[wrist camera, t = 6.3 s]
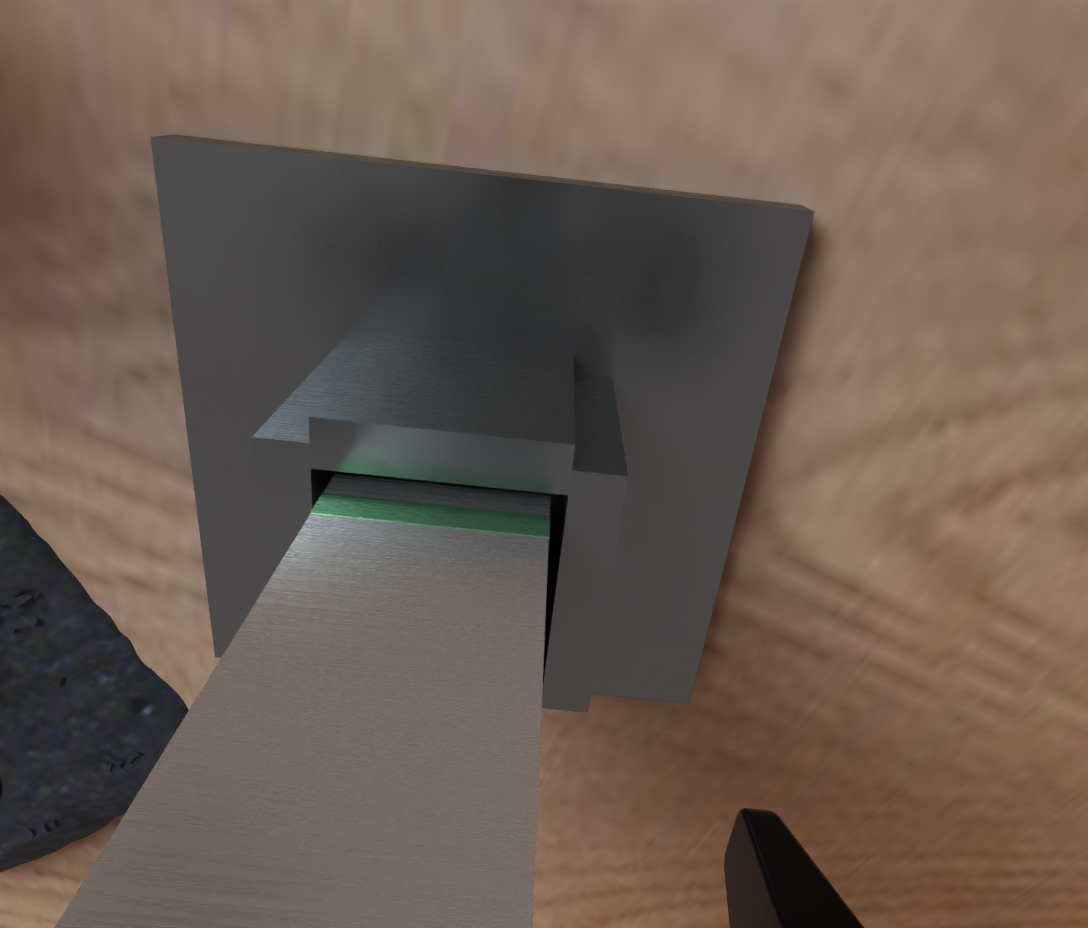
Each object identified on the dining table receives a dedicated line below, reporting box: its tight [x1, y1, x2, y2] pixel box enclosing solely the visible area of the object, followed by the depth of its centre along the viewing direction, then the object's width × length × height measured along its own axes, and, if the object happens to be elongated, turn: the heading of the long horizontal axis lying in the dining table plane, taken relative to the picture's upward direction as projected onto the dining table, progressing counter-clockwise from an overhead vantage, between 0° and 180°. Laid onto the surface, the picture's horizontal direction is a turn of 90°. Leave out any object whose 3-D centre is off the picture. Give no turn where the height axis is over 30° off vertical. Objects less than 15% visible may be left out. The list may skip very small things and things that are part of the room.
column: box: [55, 474, 551, 928], centre depth 10 cm, size 4×4×10 cm
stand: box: [151, 135, 814, 712], centre depth 17 cm, size 14×14×6 cm
